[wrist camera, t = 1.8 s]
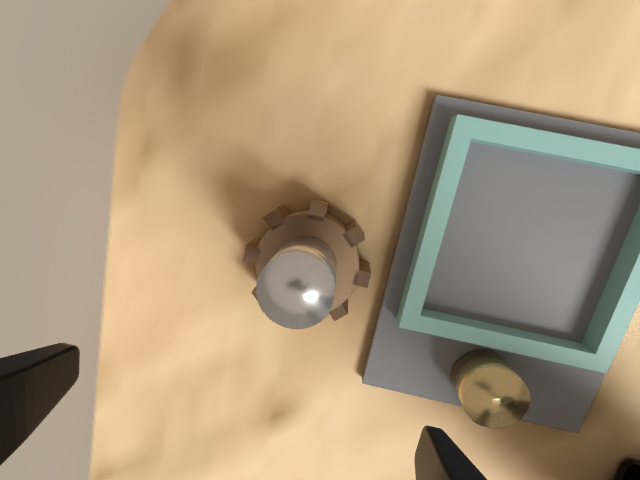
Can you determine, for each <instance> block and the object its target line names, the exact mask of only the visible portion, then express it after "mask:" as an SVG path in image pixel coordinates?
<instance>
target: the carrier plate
mask: <svg viewBox="0 0 640 480" xmlns="http://www.w3.org/2000/svg"><path fill="white" fill-rule="evenodd" d="M639 301H640V133H638V132H632V131H627V130H622V129H617V128H611V127H606V126H601V125H595V124H590V123H585V122H580V121H574V120H569V119H564V118H558V117H553V116H548V115H543V114H537V113H532V112H527V111H521V110H516V109H511V108H506V107H500V106H495V105H490V104H484V103H479V102H474V101H468V100H463V99H458V98H453V97H447V96H442V95H436V96H435V97H434V100H433V104H432V108H431V112H430V116H429V120H428V124H427V128H426V132H425V135H424V139H423V143H422V147H421V151H420V155H419V159H418V163H417V167H416V170H415V174H414V178H413V182H412V186H411V190H410V194H409V198H408V202H407V205H406V209H405V213H404V217H403V221H402V225H401V229H400V233H399V236H398V240H397V244H396V248H395V252H394V256H393V260H392V264H391V268H390V271H389V275H388V279H387V283H386V287H385V291H384V295H383V299H382V303H381V306H380V310H379V314H378V318H377V322H376V326H375V330H374V334H373V338H372V341H371V345H370V349H369V353H368V357H367V361H366V365H365V369H364V372H363V376H362V383H363V384H367V385H372V386H376V387H380V388H385V389H389V390H393V391H398V392H402V393H406V394H411V395H415V396H419V397H424V398H428V399H432V400H437V401H441V402H445V403H449V404H454V405H458V406H462V407H464V409H465V411H466V413H467V415H468V416H469V417H470V418H471V419H472V420H473V421H474V422H475V423H477V424H479V425H481V426H484V427H488V428H504V427H508V426H510V425H513V424H515V423H516V422H518V421H519V420H523V421H527V422H532V423H536V424H540V425H545V426H549V427H553V428H558V429H562V430H566V431H571V432H575V433H578V432H579V430H580V428H581V426H582V423H583V421H584V419H585V417H586V415H587V412H588V410H589V408H590V406H591V403H592V401H593V399H594V397H595V395H596V392H597V390H598V388H599V386H600V383H601V381H602V379H603V377H604V375H605V373H607V372H608V370H609V367H610V365H611V363H612V361H613V359H614V356H615V354H616V352H617V350H618V348H619V345H620V343H621V341H622V339H623V337H624V334H625V332H626V330H627V328H628V325H629V323H630V321H631V319H632V317H633V314H634V312H635V310H636V308H637V306H638V303H639Z"/></svg>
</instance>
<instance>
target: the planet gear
mask: <svg viewBox="0 0 640 480" xmlns="http://www.w3.org/2000/svg"><path fill="white" fill-rule="evenodd" d="M328 204H329V202H326V201H321V200H316V199H314V200H313V201H312V202H311V203H310V208H309V210H304V211H298V212H294V213H292V214H289V213H288V211H287V210H286V208H285V207H284V206H281V207H279V208H277V209H276V210H274V211H273V212H271V213H270V214H268V215H267V216H265V217H264V220H265V221H266V223H267V224H268V226H269V227H270V229H269V230H268V231H267V232H266V233H265V235H264V236H263V237H262V239H261V240H260V239H254V240H253V241H252V242H250V243H249V244H248V245H246V247H245V254H244V260H243V261H247V262H252V263H255V270H256V276H257V284H256V287H255V288H254V290H253V291H252V294H253V295H254V296H255V298H256V299H257V301H258V303H259V305H260V307H261V309H262V311H263V312H264V313H265V314H266V316H267V317H268V318H269V319H271V320H272V321H273V322H275V323H277V324H278V325H281V326H283V327H286V328H291V329H304V328H308V327H311V326H313V325H316V324H317V323H319V322H320V321H322V320H323V319H324V318H325V317H326V316H327V314H328V313H330V315H331V316H332V318H333V319H334V321H336V320H337V319H339V318H341V317H343V316H344V315H346V314H348V299H347V298H348V297H349V296H350V294H351V293H352V291H353V289H354V287H355V285H357V286H362V287H366V288H367V287H368V283H369V279H370V275H371V271H370V265H369V263H367V262H362V261H359V257H358V249H357V244H359V243H360V242H362V241H363V240H365V237H364V232H363V231H362V229H361V228H360V226H359V225H358V223H357V221H356V220H355V221H354V222H352V223H351V224H349V225H347V226H345V225H344V224H343V223H342V222H341V221H340V220H339V219H337V218H336V217H334V216H332V215H330V214H328V213H327V209H328Z"/></svg>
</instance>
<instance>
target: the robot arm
mask: <svg viewBox="0 0 640 480" xmlns="http://www.w3.org/2000/svg"><path fill="white" fill-rule="evenodd" d="M79 356H80V352H79V348H78V347H77V346H75V345H71V344H66V343H58V344H54V345H50V346H46V347H42V348H38V349H35V350H30V351H27V352H23V353H19V354H15V355H11V356H7V357H3V358H0V465H1V464H2V463H3V462H4V461H5V460H6V459H7V458H8V457H9V456H10V455H11V454H12V453H13V452H14V451H15V450H16V449H17V448H18V447H19V446H20V445H21V444H22V443H23V442H24V441H25V440H26V439H27V438H28V437H29V435H31V434H32V432H33V431H34V430H35V429H36V428H37V427H38V426H39V424H40V423H41V422H42V421H43V420H44V419H45V417H46V416H47V415H48V414H49V413H50V412H51V410H52V409H53V408H54V407H55V406H56V405H57V404H58V402H59V401H60V400H61V399H62V398H63V396H64V395H65V394H66V393H67V392H68V391H69V390H70V388H71V387H72V386H73V385H74V383H75V382H76V380H77V378H78V375H79ZM415 473H416V480H487V479H486V478H485V477H484V476H483V474H482V473H481V472H480V471H479V470H478V469H477V468H476V467H475V466H474V464H473V463H472V462H471V461H470V460H469V459H468V458H467V457H466V455H465V454H464V453H463V452H462V451H461V450H460V449H459V448H458V446H457V445H456V444H455V443H454V442H453V441H452V440H451V439H450V438H449V436H448V435H447V434H446V433H445V432H444V431H443V430H442V429H440V428H436V427H431V426H425V427H424V428H423V430H422V433H421V436H420V439H419V442H418V446H417V449H416V452H415ZM614 480H640V461H638V460H633V459H628V460H625V461H624V462H623V463H622V465H621V467H620V469H619V471H618V473H617V475H616V477H615V479H614Z"/></svg>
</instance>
